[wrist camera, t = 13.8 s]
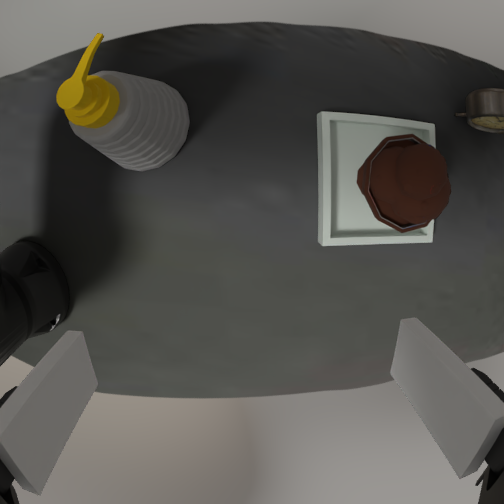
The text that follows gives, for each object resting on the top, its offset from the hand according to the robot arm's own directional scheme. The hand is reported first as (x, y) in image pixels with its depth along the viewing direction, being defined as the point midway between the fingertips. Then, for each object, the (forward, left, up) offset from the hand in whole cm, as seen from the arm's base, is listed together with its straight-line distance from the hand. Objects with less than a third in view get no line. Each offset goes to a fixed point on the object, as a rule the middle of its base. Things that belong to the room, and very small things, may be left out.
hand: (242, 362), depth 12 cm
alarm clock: (+38, +18, -31) cm, 52 cm away
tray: (+19, +6, -31) cm, 37 cm away
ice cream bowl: (+18, +6, -30) cm, 36 cm away
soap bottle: (-12, +14, -31) cm, 36 cm away
